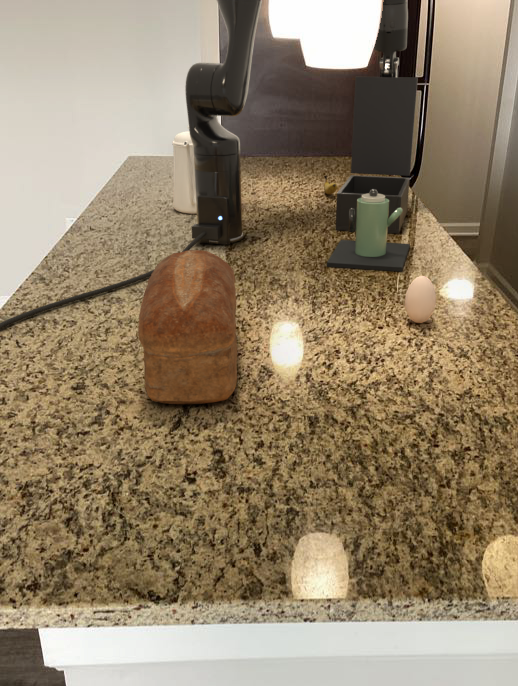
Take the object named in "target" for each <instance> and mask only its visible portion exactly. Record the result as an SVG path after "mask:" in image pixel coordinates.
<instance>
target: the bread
mask: <svg viewBox="0 0 518 686" xmlns="http://www.w3.org/2000/svg"><path fill="white" fill-rule="evenodd" d="M153 270H154V271H153V273H152V274H151V276H150V277H148V280H147V285H146V287H145V290H144V292H143V296H142V301H141V304H140V310H139V314H138V327H137V335H138V340H139V343H140V344H141V347H142V349H143V350H142V351H143V365H144V367H143V368H144V369H143V370H144V371H143V377H144V378H143V379H144V388H145V391H146V394H147V397H148V398H149V399H150V400H151V401H152V402H155V403H156V402H157V403H161V404H169V405H200V404H210V403H218V402H222V401H226V400H228V399H229V398H230V397H231V395H233V393H234V392H235V389H236V387H237V382H238V370H237V367H238V341H237V334H236V333H237V332H236V331H237V322H236V313H237V292H236V284H235V283H236V276H235V271H234V269H233V268H232V267H231V265H230V264H229V263H228V262H227V261H225V260H224V259H223V258H221V257H220V256H219V255H216V254H214V253H212V252H210V251H207V250H201V249H190V250H187V251H184V252H182V251H181V252H173V253H171V254H170V255H168V256H166V257H165V258H163V259H162V260H161V261H160V262H158V263H157V264H156V265H155V267H154V269H153Z"/></svg>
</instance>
